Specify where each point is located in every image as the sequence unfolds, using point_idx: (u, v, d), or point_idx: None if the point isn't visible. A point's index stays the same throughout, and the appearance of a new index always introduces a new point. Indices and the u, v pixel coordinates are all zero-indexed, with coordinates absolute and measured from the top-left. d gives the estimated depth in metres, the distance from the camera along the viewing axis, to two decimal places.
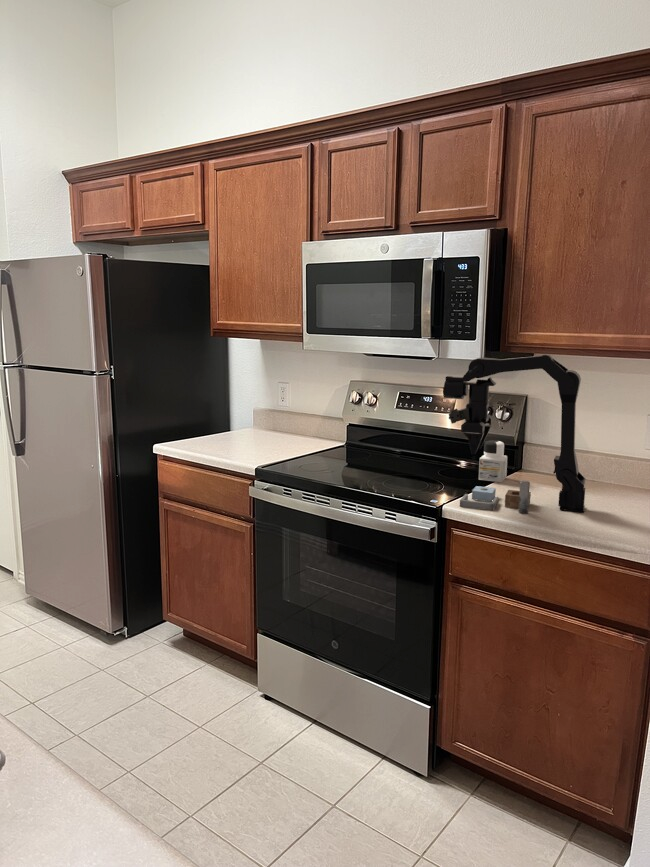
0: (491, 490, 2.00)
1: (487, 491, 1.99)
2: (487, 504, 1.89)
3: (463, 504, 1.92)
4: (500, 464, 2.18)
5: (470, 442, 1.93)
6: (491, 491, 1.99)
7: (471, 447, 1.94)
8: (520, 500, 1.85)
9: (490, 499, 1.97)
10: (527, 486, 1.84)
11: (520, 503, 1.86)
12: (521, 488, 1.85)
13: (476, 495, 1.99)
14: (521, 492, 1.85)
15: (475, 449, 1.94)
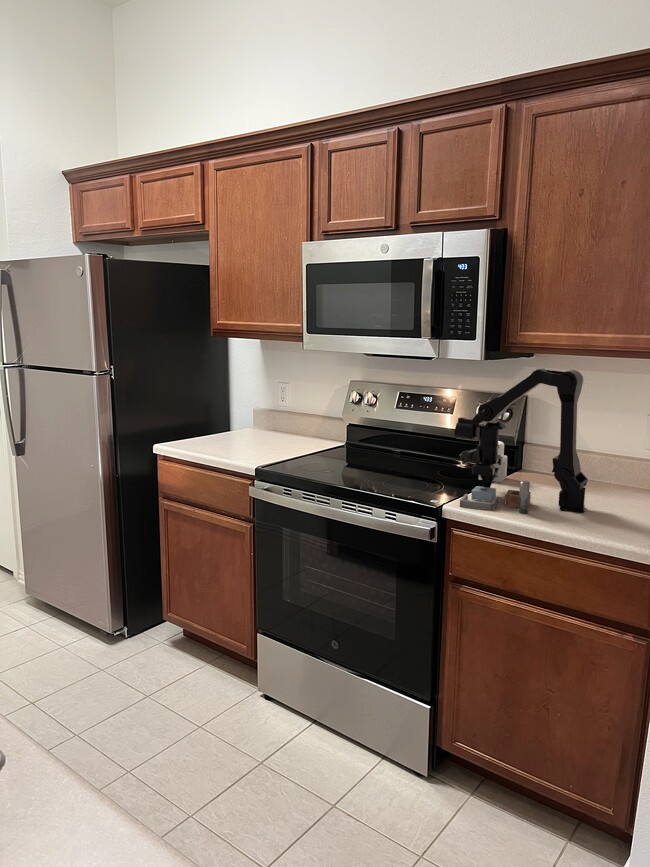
0: (491, 490, 1.99)
1: (487, 491, 1.98)
2: (487, 504, 1.89)
3: (463, 504, 1.92)
4: None
5: (483, 480, 2.03)
6: (491, 491, 1.98)
7: (484, 485, 2.04)
8: (520, 500, 1.85)
9: (489, 499, 1.97)
10: (527, 486, 1.84)
11: (520, 503, 1.86)
12: (521, 488, 1.85)
13: (476, 495, 1.99)
14: (521, 492, 1.85)
15: (488, 487, 2.03)
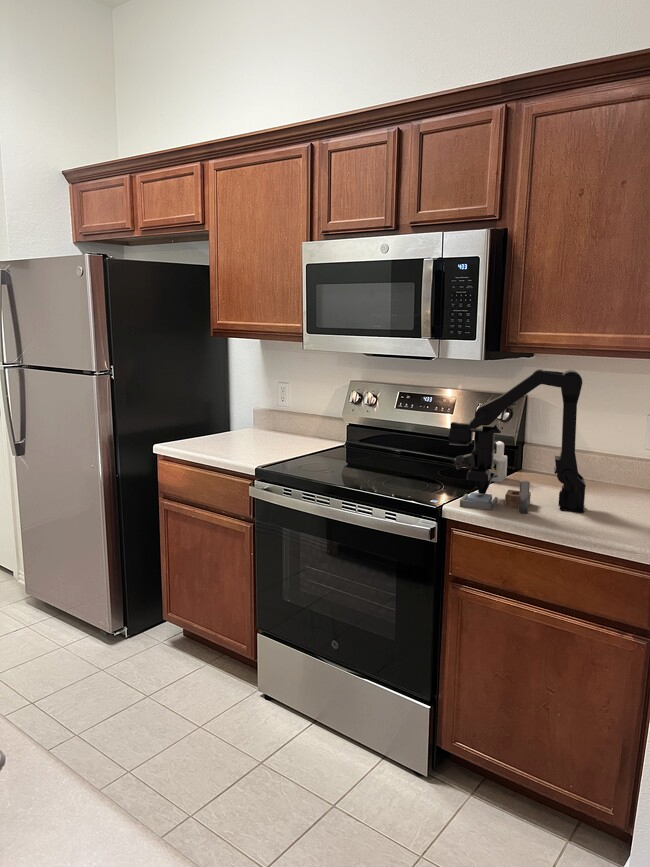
0: (487, 497, 1.93)
1: (483, 498, 1.92)
2: (487, 504, 1.89)
3: (463, 504, 1.92)
4: (500, 464, 2.18)
5: (478, 486, 1.96)
6: (487, 498, 1.92)
7: (479, 491, 1.97)
8: (520, 500, 1.85)
9: None
10: (527, 486, 1.84)
11: (520, 503, 1.86)
12: (521, 488, 1.85)
13: None
14: (521, 492, 1.85)
15: (483, 493, 1.97)
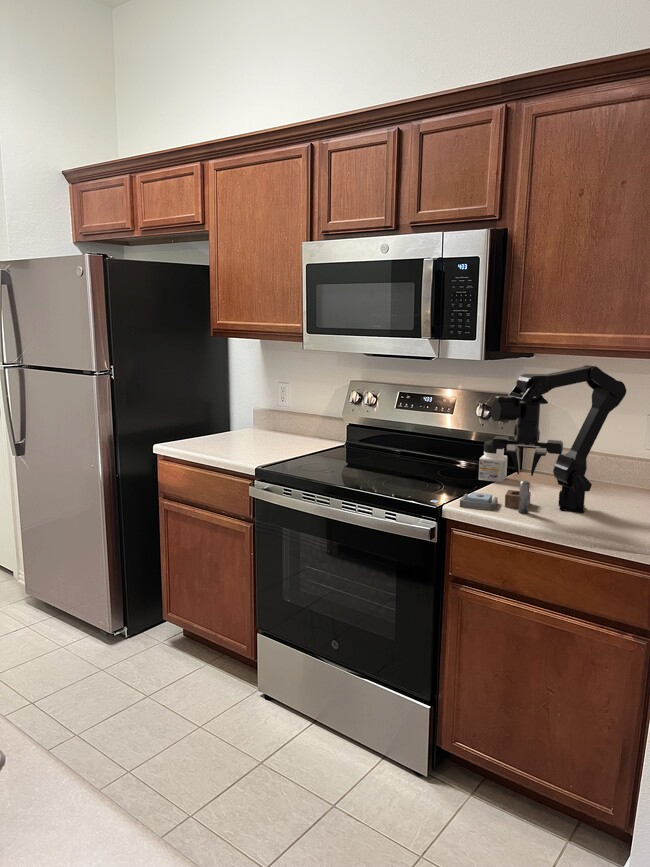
0: (487, 497, 1.93)
1: (483, 498, 1.91)
2: (487, 504, 1.89)
3: (463, 504, 1.92)
4: (500, 464, 2.18)
5: None
6: (487, 498, 1.91)
7: None
8: (520, 500, 1.85)
9: None
10: (527, 486, 1.84)
11: (520, 503, 1.86)
12: (521, 488, 1.85)
13: None
14: (521, 492, 1.85)
15: None
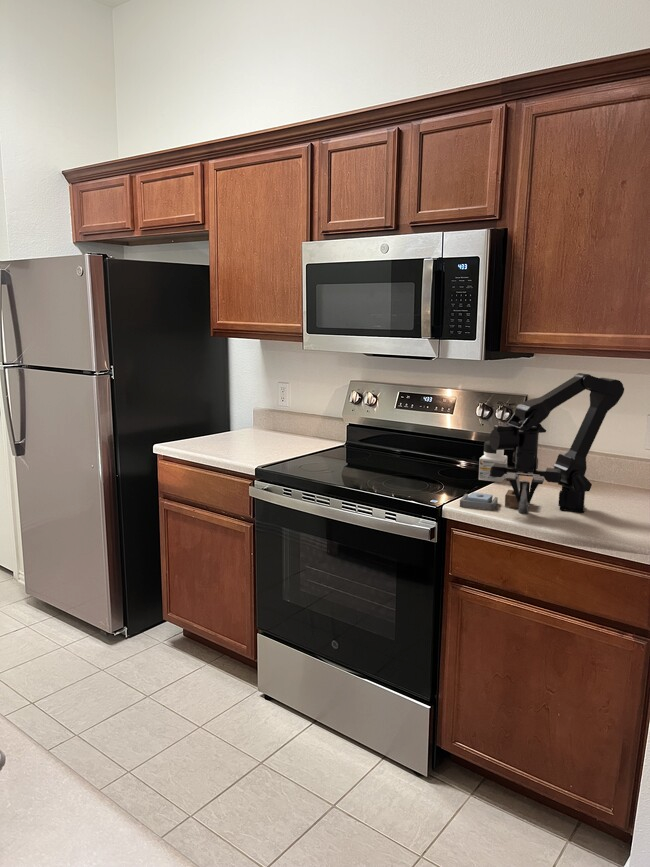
0: (487, 497, 1.92)
1: (482, 498, 1.91)
2: (487, 504, 1.89)
3: (463, 504, 1.92)
4: None
5: None
6: (487, 498, 1.91)
7: None
8: (520, 500, 1.85)
9: None
10: (527, 486, 1.84)
11: (520, 503, 1.86)
12: (521, 488, 1.85)
13: None
14: (521, 492, 1.85)
15: None
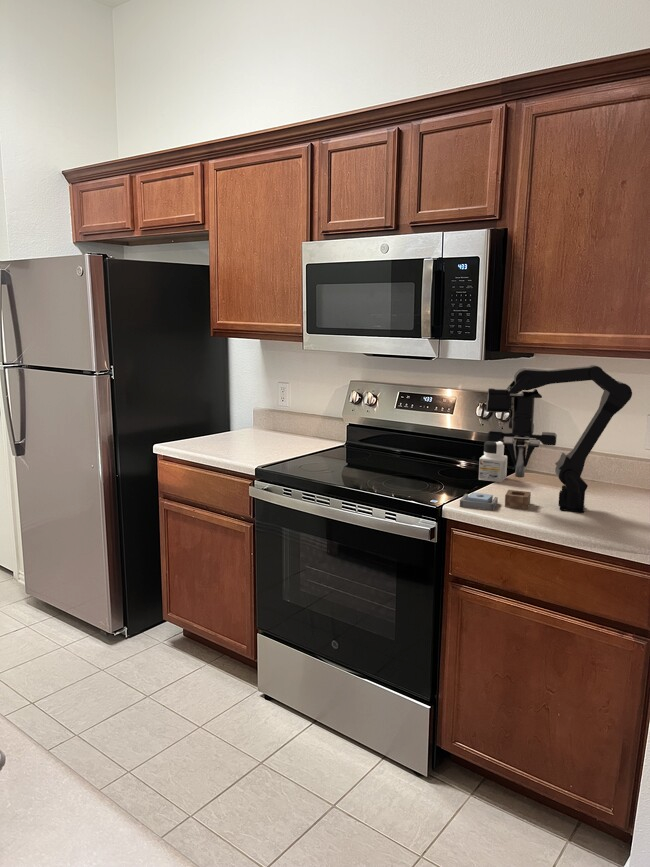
0: (487, 497, 1.92)
1: (482, 498, 1.91)
2: (487, 504, 1.89)
3: (463, 504, 1.92)
4: (500, 464, 2.18)
5: None
6: (487, 498, 1.91)
7: None
8: (517, 464, 1.90)
9: None
10: (523, 450, 1.89)
11: (517, 467, 1.90)
12: (518, 452, 1.89)
13: None
14: (518, 456, 1.89)
15: None
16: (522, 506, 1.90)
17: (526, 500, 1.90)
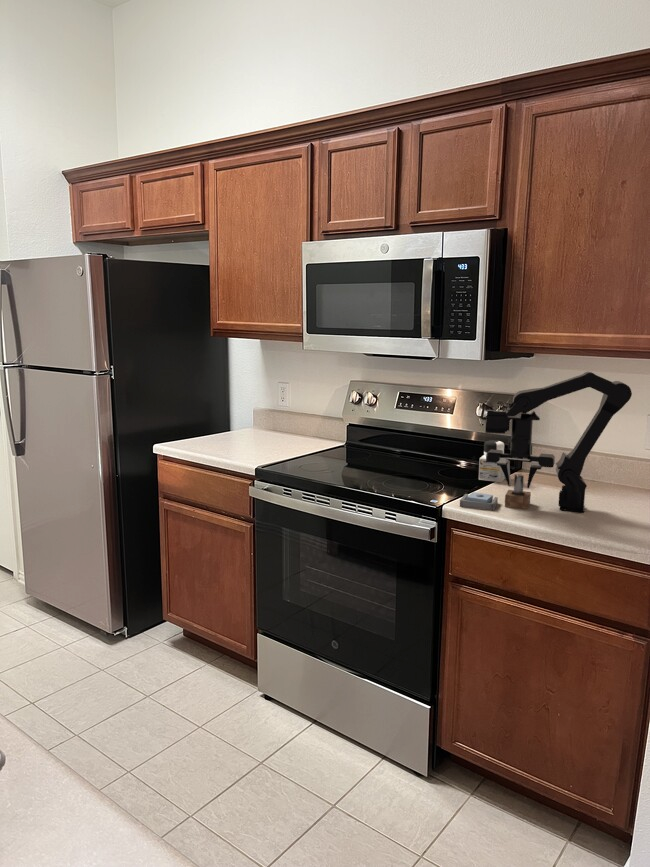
0: (487, 497, 1.92)
1: (482, 498, 1.91)
2: (487, 504, 1.89)
3: (463, 504, 1.92)
4: None
5: None
6: (486, 498, 1.91)
7: None
8: (515, 493, 1.93)
9: None
10: (521, 479, 1.91)
11: None
12: (515, 481, 1.92)
13: None
14: (515, 485, 1.92)
15: None
16: (522, 506, 1.90)
17: (526, 500, 1.90)
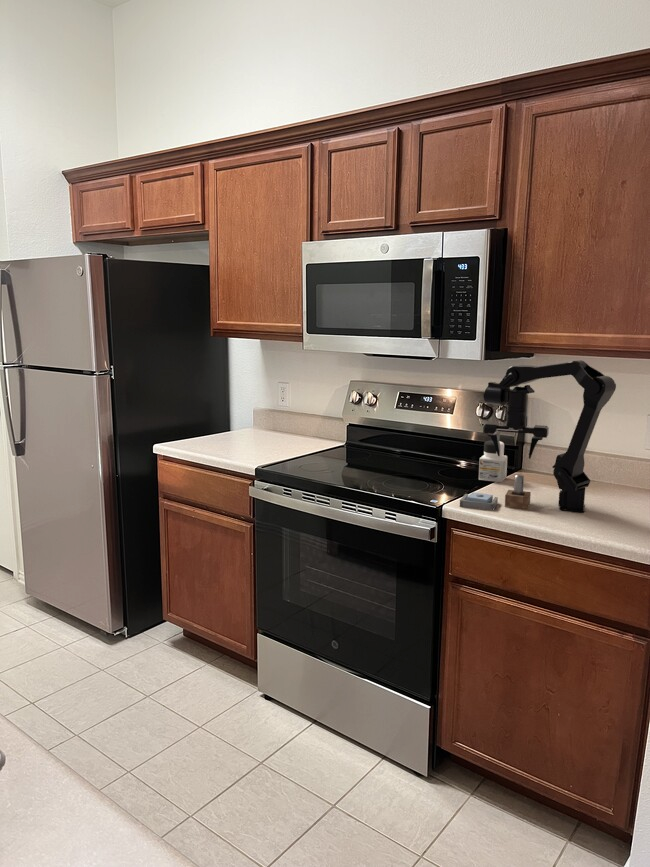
0: (487, 497, 1.92)
1: (482, 498, 1.92)
2: (487, 504, 1.89)
3: (463, 504, 1.92)
4: (500, 464, 2.18)
5: None
6: (486, 498, 1.91)
7: None
8: (515, 493, 1.93)
9: None
10: (521, 479, 1.91)
11: None
12: (516, 481, 1.92)
13: None
14: (516, 485, 1.92)
15: None
16: (522, 506, 1.90)
17: (526, 500, 1.90)
